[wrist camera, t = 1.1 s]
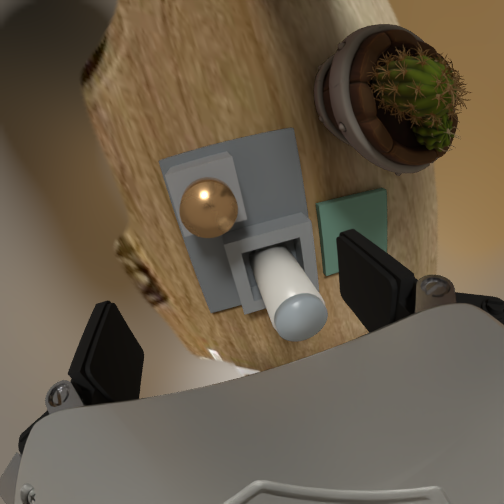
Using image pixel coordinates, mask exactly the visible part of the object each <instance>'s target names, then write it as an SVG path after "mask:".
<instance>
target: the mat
mask: <svg viewBox="0 0 504 504" xmlns="http://www.w3.org/2000/svg"><path fill="white" fill-rule="evenodd" d="M316 210H317V218H318V226H319V235H320V244H321V253H322V264H323V273H324V274H325V275H326V276H328V275H331V274H334V273H337V272H339V268H338V255H337V244H336V238H337V237H338V236H339V234H340V232H343V231H346V230H349V229H355V230H356V231H358V232H359V233H360V234H362V235H363V236H365V237H366V238H367V239H369V240H370V241H372V242H373V243H374V244H376V245H377V246H378V247H380V248H381V249H382V250H384V251H385V252H386V253H387V191H386V189H384V188H379V189H374V190H370V191H365V192H361V193H357V194H353V195H348V196H344V197H340V198H336V199H332V200H328V201H324V202H319V203H316Z"/></svg>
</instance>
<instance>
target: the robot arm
mask: <svg viewBox="0 0 504 504" xmlns="http://www.w3.org/2000/svg"><path fill="white" fill-rule="evenodd" d="M336 244H337V255H338V268H339V282H340V293H341V296H342V298H343V300H344V301H345V302H346V303H347V305H348V306H349V307H350V308H351V310H352V311H353V312H354V313H355V315H356V316H357V317H358V318H359V320H360V321H361V322H362V324H363V325H364V326H365V327H366V329H367V330H368V331H369V333H368V334H365V335H363V336H361V337H358V338H356V339H353V340H351V341H349V342H346V343H343V344H341V345H338V346H336V347H333V348H331V349H328V350H325V351H322V352H320V353H317V354H314V355H311V356H309V357H306V358H303V359H300V360H297V361H294V362H291V363H288V364H285V365H281V366H278V367H275V368H272V369H269V370H265V371H262V372H258V373H255V374H251V375H248V376H244V377H241V378H237V379H233V380H229V381H225V382H222V383H218V384H213V385H209V386H205V387H200V388H195V389H191V390H186V391H182V392H176V393H171V394H165V395H160V396H154V397H148V398H142V399H139V394H140V385H141V376H142V369H143V368H142V367H143V361H144V352H143V349H142V348H141V346H140V345H139V343H138V342H137V340H136V338H135V337H134V335H133V333H132V332H131V330H130V329H129V327H128V325H127V324H126V322H125V320H124V318H123V317H122V315H121V313H120V311H119V310H118V308H117V306H116V305H115V303H111V302H110V301H105V302H102V303H98V304H96V306H95V308H94V310H93V312H92V314H91V317H90V319H89V321H88V324H87V326H86V328H85V330H84V333H83V335H82V338H81V340H80V343H79V346H78V348H77V350H76V353H75V355H74V358H73V361H72V363H71V366H70V369H69V372H68V375H69V376H70V377H71V378H72V379H71V382H69V381H66V380H62V381H60V382H57V383H56V384H54V385H53V386H52V387H51V388H50V390H49V391H48V393H47V395H46V398H45V403H46V407H47V411H46V412H45V413H44V414H43V415H42V416H41V417H40V418H38V419H37V420H36V421H35V422H34V423H33V424H32V425H31V426H30V427H28V428H27V429H26V430H25V431H24V432H23V433H22V434H21V435H20V438H19V445H18V446H19V451H20V454H19V453H16V454H15V456H14V457H13V458H12V460H11V462H10V463H9V465H8V466H7V468H6V470H5V471H4V473H3V474H2V476H1V478H0V496H1V497H2V499H3V500H4V502H5V503H6V504H504V301H503V300H501V299H500V298H497V297H493V296H492V297H491V296H483V295H474V294H466V293H456V292H455V288H454V285H453V283H452V282H451V281H450V280H448V279H447V278H445V277H443V276H440V275H427V276H424V277H422V278H420V279H419V280H417V279H416V278H415V277H414V273H412V272H411V271H410V270H409V269H407V268H406V267H405V266H403V265H402V264H401V263H400V262H398V261H397V260H396V259H394V258H393V257H392V256H390V255H389V254H388V253H386V252H385V251H384V250H382V249H381V248H380V247H378V246H377V245H376V244H374V243H373V242H372V241H370V240H369V239H367V238H366V237H365V236H363V235H362V234H360V233H359V232H358V231H356V230H355V229H349V230H346V231H343V232H340V234H339V236H338V237H337V238H336Z"/></svg>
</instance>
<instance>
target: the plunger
mask: <svg viewBox="0 0 504 504" xmlns="http://www.w3.org/2000/svg"><path fill="white" fill-rule="evenodd" d="M179 213H180V218H181V221H182V223H183V225H184V226H185V228H186V229H187V230H188V231H189V232H191V233H192V234H194V235H196V236H198V237H202V238H214V237H218V236H220V235H222V234H224V233H226V232H227V231H228V230H229V229H230V228H231V227H232V226H233V224H234V223H235V221H236V218H237V214H238V205H237V201H236V198H235V196H234V194H233V192H232V190H231V189H230V187H229V186H228V185H227V184H226V183H225V182H223V181H221V180H219V179H217V178H212V177H204V178H200V179H197V180H195V181H193V182H192V183H191V184H190V185H188V187H187V188H186V189H185V191H184V193H183V195H182V198H181V203H180V208H179Z"/></svg>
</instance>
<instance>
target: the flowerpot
mask: <svg viewBox="0 0 504 504" xmlns="http://www.w3.org/2000/svg"><path fill="white" fill-rule="evenodd" d="M446 57H447V55H446ZM446 57H445V58H446ZM448 63H452V61H451V62H447V61H446V60H445V59H444V58H443V57H442V56H441V55H440V54H438V53H437V52H436V50H435V49H434V48H433V47H432V46H430V45H429V44H427V43H425V42H424V41H423V40H422V39H420V38H419V37H418V36H417V35H415V34H414V33H412V32H411V31H409V30H407V29H405V28H402V27H400V26H397V25H390V24H379V25H371V26H367V27H364V28H361V29H359V30H357V31H355V32H353V33H351V34H350V35H349V36H347V37H346V38H345V39H344V40H343V42H342V43H339V44H338V50H337V52H336V54H334V55H332V56H331V57H330V58H328V59H327V60H326V61H325V62H324V64H323V65H319V66H318V69H319V72H318V73H317V76H316V79H315V84H314V100H315V106H316V110H317V112H318V115H319V120H320V121H322V122H323V124H324V125H325V126H326V128H327V129H328V130H329V131H330V132H331V133H333V134H334V135H335V136H336V137H337V138H339V139H340V140H341V141H343V142H344V143H346V144H348V145H350V146H352V147H354V148H355V149H356V150H357V151H358V152H359V153H360V154H361V155H362V156H363V157H365V158H366V159H367V160H369V161H370V162H372V163H373V164H375V165H377V166H379V167H381V168H383V169H385V170H388V171H391V172H395V174H396V175H397V176H400V175H401V174H402V173H415V172H418V171H421V170H423V169H424V168H426V167H428V166H429V165H430V163H433V162H434V161H436V160H437V159H438V158H439V157H441V156H443V155H444V154H445V153H446V152H447V150H448V149H449V147H450V145H451V143H452V141H453V138H454V137H455V136H454V135H455V132H456V128H457V123H458V117H457V113H455V110H458V109H455V108H454V107H456V106H457V105H460V106H461V103H462V104H464V105H463V106H465V107H466V105H465V103H464V102H463V101H462V100H466V99H461V98H460V96H464V95H466V94H467V93H471V92H468V91H464V90H465V89H461V87H460V86H461V85H464V84H463V83H462V82H461V83H462V84H461V83H460V82H459V79H461V78H460V76H459V75H458V74H459V73H458V72H459V71H458V72H457V71H456V70H454V69H453V64H452V68H450V66H449V65H450V64H449V65H448ZM454 71H455V72H457V73H458V74H457V76H456V77H454V76H455V74H456V73H452V72H454ZM458 77H459V78H458ZM457 81H458V83H457ZM458 85H459V86H458ZM465 85H466V84H465ZM463 87H464V86H463ZM457 91H460V92H461V91H462V92H464V93H465V92H467V93H466V94H464V95H462V94H463V93H461V95H458V94H459V93H458V94H457V93H456V92H457ZM457 99H458V100H457ZM459 100H460V101H459ZM458 101H459V102H461V103H460V104H458ZM456 102H457V104H456ZM454 109H455V110H454ZM466 109H467V108H466ZM456 138H457V137H456Z"/></svg>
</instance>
